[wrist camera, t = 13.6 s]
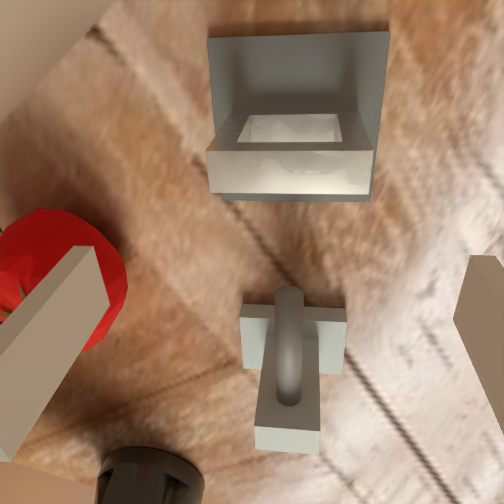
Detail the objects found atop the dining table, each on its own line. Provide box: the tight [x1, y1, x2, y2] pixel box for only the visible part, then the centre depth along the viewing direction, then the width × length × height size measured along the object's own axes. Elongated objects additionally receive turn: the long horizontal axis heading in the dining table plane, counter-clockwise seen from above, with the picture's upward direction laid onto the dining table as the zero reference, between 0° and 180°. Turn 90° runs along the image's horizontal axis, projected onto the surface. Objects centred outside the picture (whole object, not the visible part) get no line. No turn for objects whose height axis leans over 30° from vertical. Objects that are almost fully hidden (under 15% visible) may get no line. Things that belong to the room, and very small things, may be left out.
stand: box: [239, 286, 347, 455], centre depth 35 cm, size 16×10×12 cm, turn 3°
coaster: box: [207, 31, 391, 202], centre depth 31 cm, size 12×12×1 cm
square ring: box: [206, 108, 374, 194], centre depth 27 cm, size 9×2×9 cm, turn 93°
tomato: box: [0, 208, 128, 354], centre depth 36 cm, size 11×13×10 cm
